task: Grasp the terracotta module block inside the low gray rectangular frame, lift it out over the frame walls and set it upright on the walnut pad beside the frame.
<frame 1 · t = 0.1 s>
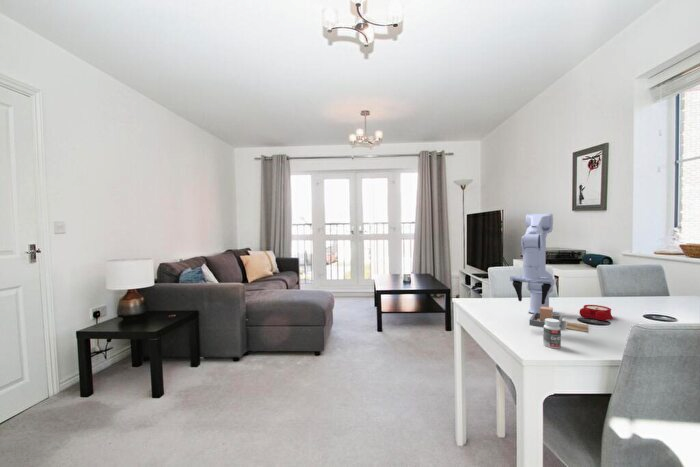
hand: (531, 302, 121), 10 cm above the table, tool pointing down, fingers open, 7 cm apart
pill bottle: (551, 346, 104), on the table
module block: (546, 323, 128), resting in gray rectangular frame
gray rectangular frame: (546, 322, 128), on the table
alarm clock: (595, 318, 135), on the table
walnut pad: (576, 327, 122), on the table
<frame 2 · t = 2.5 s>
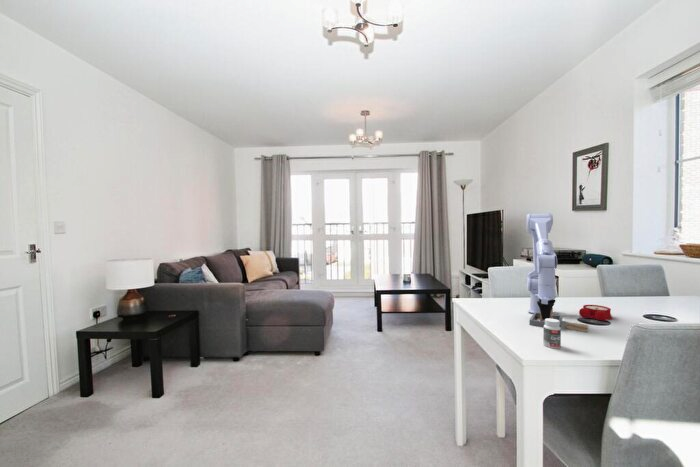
hand: (546, 318, 128), 2 cm above the table, tool pointing down, fingers closed on module block, 4 cm apart
module block: (546, 322, 128), resting in gray rectangular frame, touching gripper
everything else where it was.
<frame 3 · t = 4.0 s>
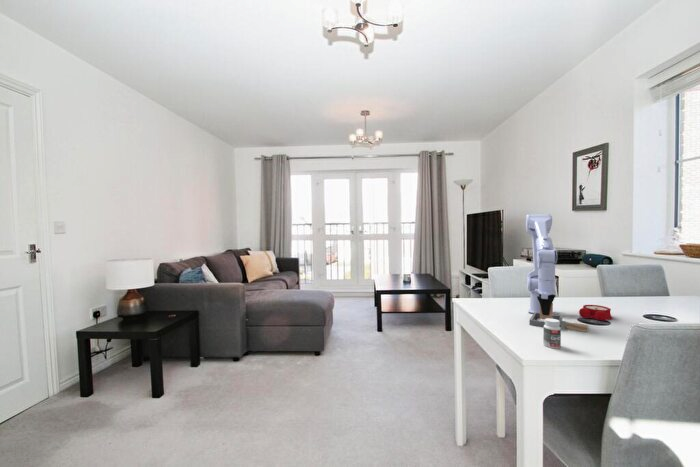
hand: (546, 313, 128), 4 cm above the table, tool pointing down, fingers closed on module block, 4 cm apart
module block: (546, 317, 128), point 2 cm above the table, touching gripper
everything else where it was.
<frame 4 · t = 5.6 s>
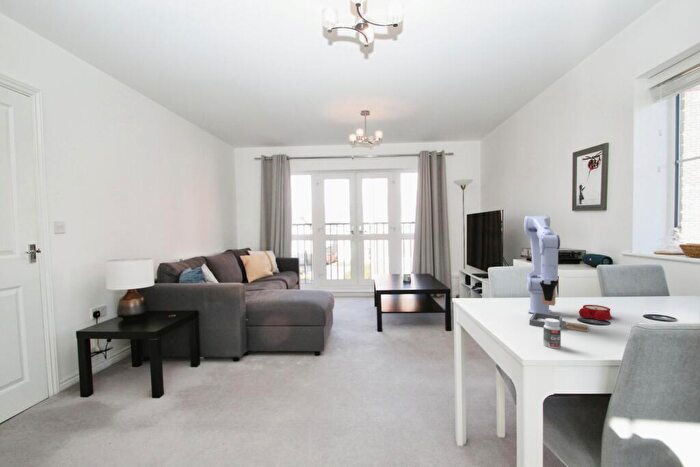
hand: (548, 299, 127), 9 cm above the table, tool pointing down, fingers closed on module block, 4 cm apart
module block: (548, 304, 127), point 8 cm above the table, touching gripper
everything else where it was.
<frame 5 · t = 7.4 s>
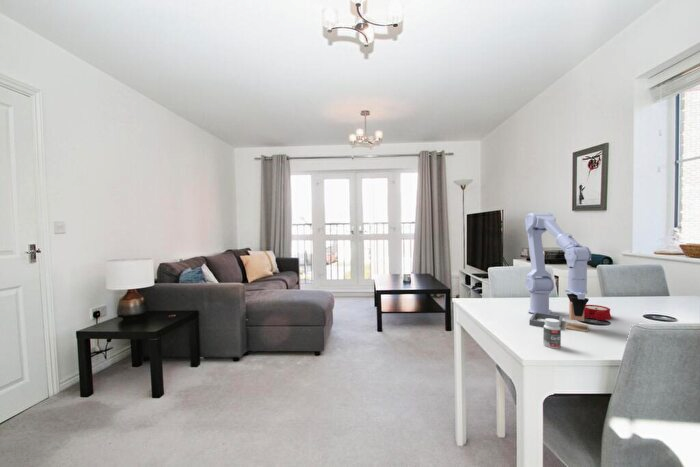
hand: (577, 314, 122), 5 cm above the table, tool pointing down, fingers closed on module block, 4 cm apart
module block: (576, 319, 122), point 3 cm above the table, touching gripper
everything else where it was.
when the fingers open (4 cm above the table, at t = 8.6 s): module block drops 1 cm, resting on walnut pad.
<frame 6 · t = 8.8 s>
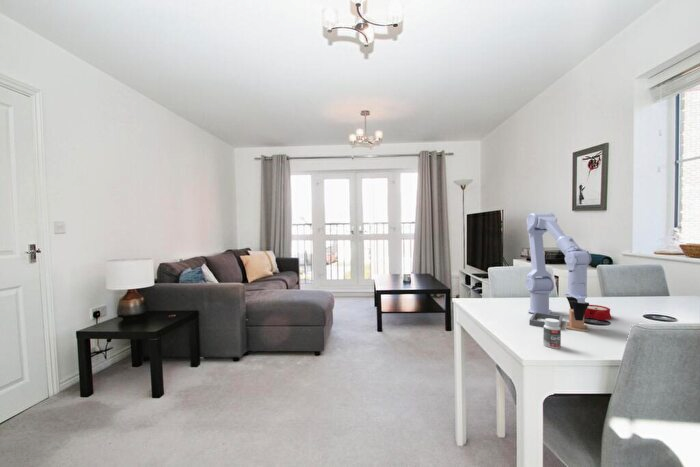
hand: (577, 318, 122), 4 cm above the table, tool pointing down, fingers open, 6 cm apart
module block: (576, 326, 122), resting on walnut pad
everything else where it was.
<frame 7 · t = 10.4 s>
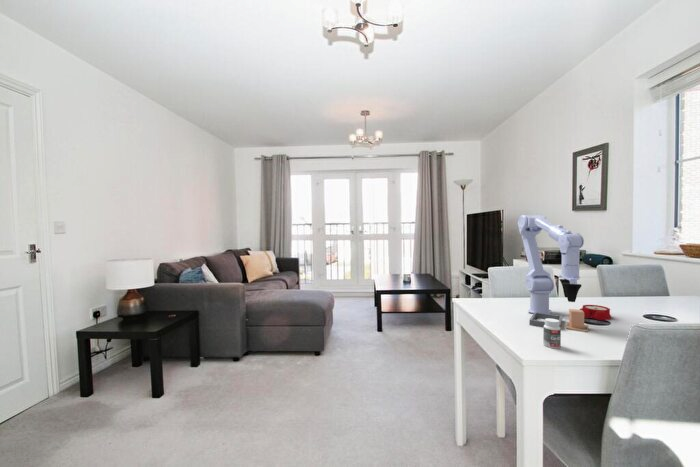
hand: (569, 299, 125), 10 cm above the table, tool pointing down, fingers open, 7 cm apart
nothing on the table moved.
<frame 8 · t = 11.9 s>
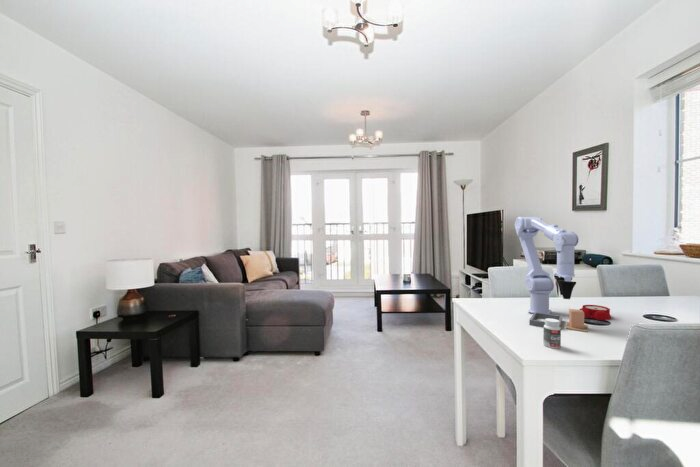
hand: (565, 296, 127), 10 cm above the table, tool pointing down, fingers open, 7 cm apart
nothing on the table moved.
at the end: module block 0.1 cm off-centre on the walnut pad, point 0.4 cm above the walnut pad's base; module block tilted 0°; the gripper is holding nothing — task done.
